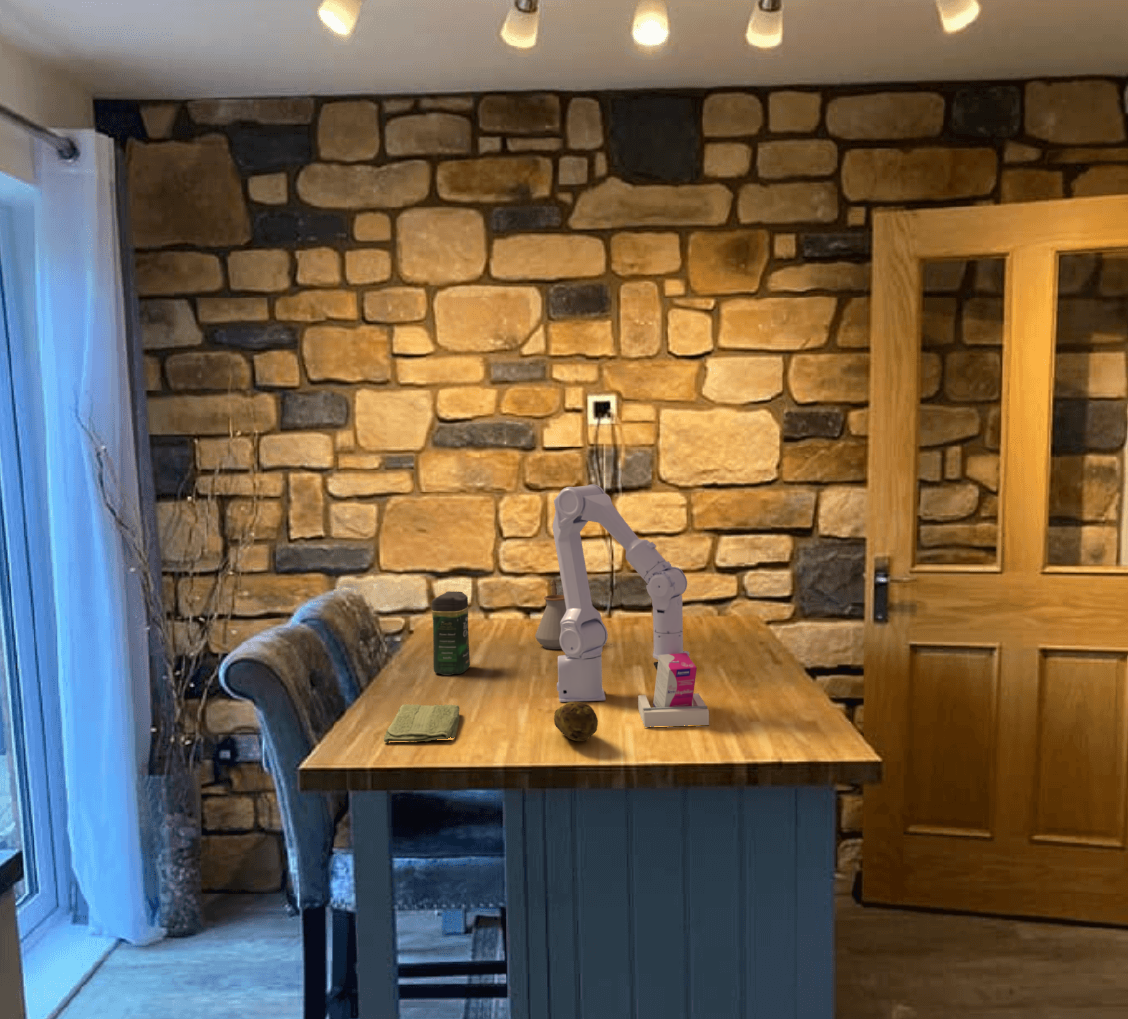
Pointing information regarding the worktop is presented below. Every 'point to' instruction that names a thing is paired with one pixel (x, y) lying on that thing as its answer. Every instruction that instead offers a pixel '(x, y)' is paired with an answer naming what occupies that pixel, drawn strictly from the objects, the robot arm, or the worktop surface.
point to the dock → (674, 713)
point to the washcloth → (423, 723)
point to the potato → (576, 720)
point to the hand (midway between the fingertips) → (669, 698)
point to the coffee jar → (450, 633)
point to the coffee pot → (551, 620)
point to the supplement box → (674, 681)
